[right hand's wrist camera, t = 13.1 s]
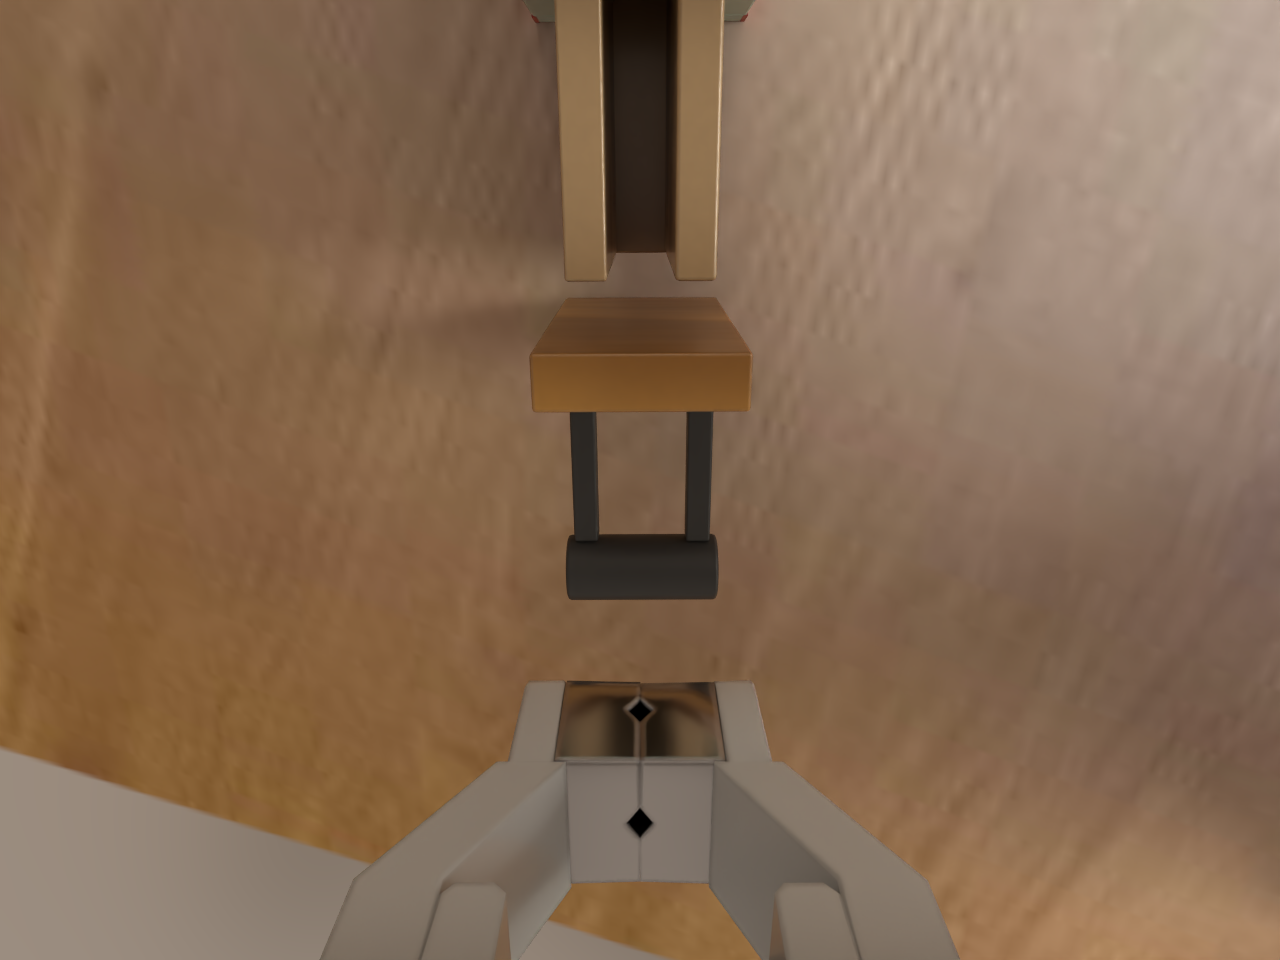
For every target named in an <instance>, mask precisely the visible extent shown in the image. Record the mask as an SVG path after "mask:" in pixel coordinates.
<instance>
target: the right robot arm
mask: <svg viewBox="0 0 1280 960" xmlns="http://www.w3.org/2000/svg"><path fill="white" fill-rule="evenodd" d="M637 881H641V882H676V883H709V887H710V889H711V890H712V892H713V893H714V894H715V896H716V897H717V899H718V900H719V901H720V903H721V904H722V905H723V907H724V908H725V910H726V911H727V912H728V914H729V915H730V916H731V918H732V919H733V921H734V922H735V923H736V925H737V926H738V927H739V929H740V930H741V932H742V933H743V934H744V936H745V937H746V939H747V940H748V941H749V943H750V944H751V945H752V947H753V948H754V950H755V951H756V952H757V954H758V955H759V956H760V958H761V959H762V960H960V958H959V955H958V953H957V951H956V948H955V946H954V943H953V941H952V938H951V936H950V934H949V931H948V929H947V926H946V924H945V922H944V919H943V917H942V914H941V912H940V909H939V907H938V905H937V902H936V900H935V897H934V895H933V892H932V890H931V888H930V885H929V883H928V880H926V879H925V878H924V877H923V876H922V875H920V874H919V873H918V872H917V871H915V870H914V869H913V868H912V867H911V866H909V865H908V864H907V863H906V862H905V861H903V860H902V859H901V858H900V857H898V856H897V855H896V854H895V853H894V852H892V851H891V850H890V849H889V848H888V847H886V846H885V845H884V844H883V843H881V842H880V841H879V840H878V839H877V838H875V837H874V836H873V835H872V834H871V833H869V832H868V831H867V830H866V829H864V828H863V827H862V826H861V825H860V824H858V823H857V822H856V821H855V820H854V819H852V818H851V817H850V816H849V815H847V814H846V813H845V812H844V811H843V810H841V809H840V808H839V807H838V806H837V805H835V804H834V803H833V802H832V801H830V800H829V799H828V798H827V797H826V796H824V795H823V794H822V793H821V792H820V791H818V790H817V789H816V788H815V787H813V786H812V785H811V784H810V783H809V782H807V781H806V780H805V779H804V778H803V777H801V776H800V775H799V774H798V773H796V772H795V771H794V770H793V769H792V768H790V767H789V766H788V765H787V764H786V763H784V762H772V758H771V754H770V750H769V746H768V741H767V737H766V733H765V728H764V724H763V720H762V716H761V711H760V707H759V703H758V699H757V694H756V690H755V686H754V683H753V682H752V681H751V680H739V681H714V682H692V683H640V682H602V681H567V682H565V681H529V682H528V683H527V685H526V686H525V689H524V693H523V698H522V702H521V706H520V711H519V715H518V719H517V724H516V728H515V732H514V737H513V741H512V745H511V750H510V754H509V758H508V762H496V763H495V764H493V765H492V766H491V767H490V768H488V769H487V770H486V771H485V772H484V773H482V774H481V775H480V776H479V777H477V778H476V779H475V780H474V781H473V782H471V783H470V784H469V785H468V786H466V787H465V788H464V789H463V790H462V791H460V792H459V793H458V794H457V795H455V796H454V797H453V798H452V799H451V800H449V801H448V802H447V803H446V804H445V805H443V806H442V807H441V808H440V809H438V810H437V811H436V812H435V813H434V814H432V815H431V816H430V817H429V818H427V819H426V820H425V821H424V822H423V823H421V824H420V825H419V826H418V827H416V828H415V829H414V830H413V831H412V832H410V833H409V834H408V835H407V836H405V837H404V838H403V839H402V840H401V841H399V842H398V843H397V844H396V845H394V846H393V847H392V848H391V849H390V850H388V851H387V852H386V853H385V854H383V855H382V856H381V857H380V858H379V859H377V860H376V861H375V862H374V863H373V864H371V865H370V866H369V867H368V868H366V869H365V870H364V871H363V872H362V873H360V874H359V875H358V876H357V877H355V878H354V879H353V881H352V884H351V886H350V889H349V891H348V893H347V896H346V898H345V901H344V903H343V905H342V908H341V910H340V912H339V915H338V917H337V920H336V922H335V924H334V927H333V929H332V932H331V934H330V936H329V939H328V941H327V944H326V946H325V948H324V951H323V953H322V955H321V958H320V960H519V958H520V957H521V956H522V954H523V953H524V952H525V950H526V949H527V947H528V946H529V945H530V943H531V942H532V941H533V939H534V938H535V936H536V935H537V934H538V932H539V931H540V930H541V928H542V927H543V925H544V924H545V923H546V921H547V920H548V919H549V917H550V916H551V914H552V913H553V912H554V910H555V909H556V908H557V906H558V905H559V904H560V902H561V901H562V899H563V898H564V897H565V895H566V894H567V893H568V891H569V890H570V888H571V883H603V882H637Z"/></svg>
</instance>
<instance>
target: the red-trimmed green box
mask: <svg viewBox="0 0 1280 960" xmlns="http://www.w3.org/2000/svg"><path fill="white" fill-rule="evenodd" d="M523 1H524V3H525V4H526V6H527V8H528V9H529V11H530V12H531V14H532V18H533V19H534V21H535V22H536V23H540V22H555V8H554V0H523ZM754 2H755V0H725V6H724V21H740V22H744V21H745V19H746V18H747V16H748V11H749V10H750V8H751V6H752V5H753V3H754Z"/></svg>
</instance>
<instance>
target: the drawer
mask: <svg viewBox="0 0 1280 960" xmlns="http://www.w3.org/2000/svg"><path fill="white" fill-rule="evenodd" d="M724 6H725V0H554V8H555V35H556V61H557V87H558V113H559V139H560V166H561V192H562V218H563V244H564V271H565V280H566V281H568V282H577V281H606V279H607V276H608V273H609V270H610V268H611V265H612V262H613V259H614V257H615V254H616V253H663V252H666V253H667V256H668V259H669V262H670V264H671V267H672V270H673V273H674V275H675V278H676V280H679V281H712V280H715V279H716V276H717V248H718V214H719V179H720V144H721V110H722V75H723V41H724ZM529 358H530V376H531V394H532V409H533V411H534V412H570V431H571V458H572V484H573V510H574V535H570V536H569V538H568V542H567V551H566V586H567V594H568V597H569V599H571V600H666V599H715V598H716V596H717V591H718V548H717V540H716V537H715V535H713V534H710V507H711V472H712V438H713V412H725V411H749V410H750V408H751V386H752V365H753V355H752V352H751V351H750V349H749V348H748V346H747V345H746V343H745V342H744V340H743V339H742V337H741V336H740V334H739V333H738V331H737V329H736V328H735V326H734V325H733V323H732V322H731V320H730V319H729V317H728V316H727V314H726V313H725V311H724V310H723V308H722V307H721V305H720V304H719V302H718V300H717V299H716V298H714V297H701V298H567V299H566V300H565V301H564V303H563V305H562V306H561V308H560V309H559V311H558V312H557V314H556V315H555V317H554V318H553V320H552V322H551V323H550V325H549V326H548V328H547V329H546V331H545V332H544V334H543V335H542V337H541V339H540V340H539V342H538V343H537V345H536V346H535V348H534V349H533V351H532V352H531V354H530V357H529ZM596 412H687V426H686V486H685V534H599V501H598V462H597V423H596Z"/></svg>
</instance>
